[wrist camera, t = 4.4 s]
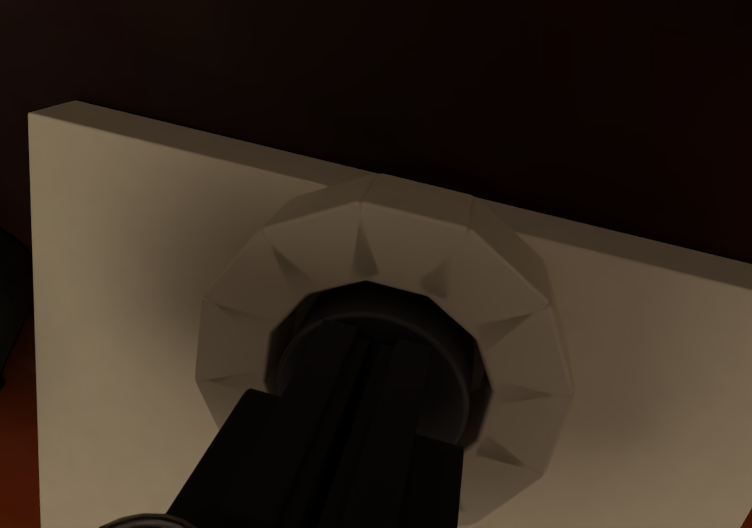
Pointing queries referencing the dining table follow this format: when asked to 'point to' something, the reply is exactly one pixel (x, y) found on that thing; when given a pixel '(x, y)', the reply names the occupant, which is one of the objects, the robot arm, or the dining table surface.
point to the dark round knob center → (383, 326)
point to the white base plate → (387, 267)
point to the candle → (13, 293)
